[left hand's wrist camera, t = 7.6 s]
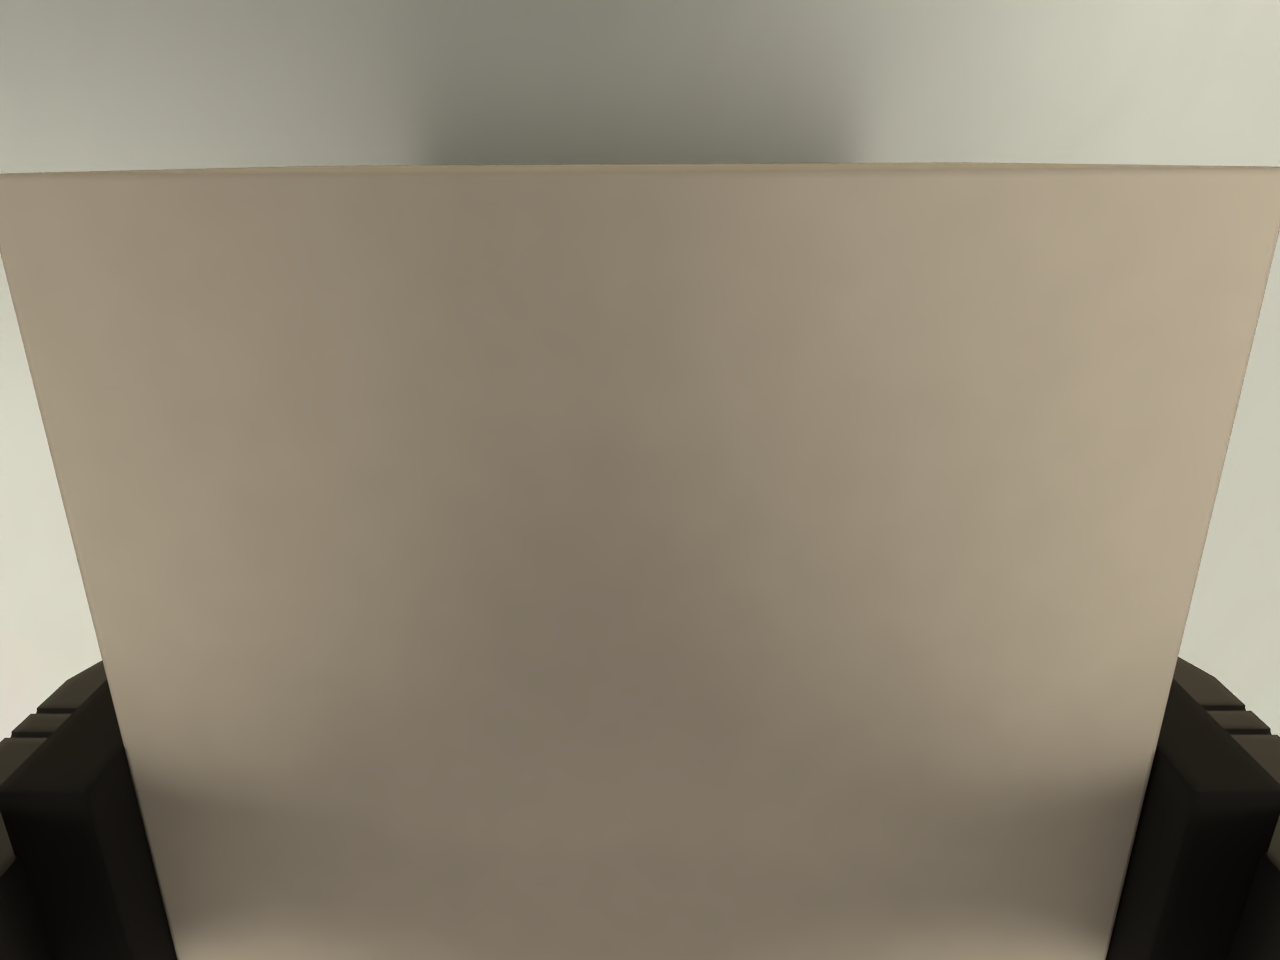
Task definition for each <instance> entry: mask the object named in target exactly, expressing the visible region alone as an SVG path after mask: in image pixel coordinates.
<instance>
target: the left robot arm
mask: <svg viewBox="0 0 1280 960" xmlns="http://www.w3.org/2000/svg"><path fill="white" fill-rule="evenodd" d="M0 960H177V956H176V952H175V948H174V944H173V940H172V936H171V932H170V928H169V924H168V920H167V916H166V912H165V908H164V904H163V900H162V896H161V892H160V888H159V884H158V880H157V876H156V872H155V868H154V864H153V860H152V856H151V852H150V848H149V844H148V840H147V836H146V832H145V828H144V824H143V820H142V816H141V812H140V808H139V804H138V800H137V796H136V792H135V788H134V784H133V780H132V776H131V772H130V768H129V764H128V760H127V756H126V752H125V748H124V744H123V740H122V736H121V732H120V728H119V724H118V720H117V716H116V712H115V708H114V704H113V700H112V696H111V692H110V688H109V684H108V680H107V676H106V672H105V668H104V664H103V660H102V661H100V662H99V663H97V664H95V665H93V666H91V667H90V668H88V669H86V670H84V671H83V672H81V673H79V674H77V675H75V676H74V677H72V678H70V679H68V680H67V681H66V682H65V683H64V684H62V685H61V686H60V687H59V688H58V689H57V690H56V691H55V692H54V693H53V694H52V695H51V696H50V697H49V698H47V699H46V700H45V701H44V702H43V703H42V704H41V705H40V706H39V707H38V708H37V713H36V714H30V715H29V716H28V717H27V718H26V719H25V720H24V721H23V722H22V723H21V724H19V725H18V726H17V727H16V728H15V729H14V730H13V731H12V735H11V738H4V739H3V740H2V741H1V742H0ZM1106 960H1280V737H1279V736H1278V735H1272V734H1271V732H1270V728H1269V727H1268V726H1267V725H1266V724H1265V723H1264V722H1263V721H1262V720H1260V719H1259V718H1258V717H1257V716H1256V715H1255V714H1254V713H1253V712H1252V711H1246V710H1245V705H1244V704H1243V703H1242V702H1241V701H1240V700H1239V699H1238V698H1237V697H1236V696H1234V695H1233V694H1232V693H1231V692H1230V691H1229V690H1228V689H1227V688H1226V687H1225V686H1224V685H1223V684H1221V683H1220V682H1219V681H1218V680H1217V679H1216V678H1215V677H1213V676H1212V675H1210V674H1208V673H1206V672H1204V671H1203V670H1201V669H1199V668H1197V667H1195V666H1194V665H1192V664H1190V663H1188V662H1186V661H1185V660H1183V659H1181V658H1179V657H1178V658H1177V662H1176V666H1175V671H1174V675H1173V679H1172V683H1171V687H1170V692H1169V696H1168V700H1167V704H1166V708H1165V713H1164V717H1163V721H1162V725H1161V729H1160V734H1159V738H1158V742H1157V746H1156V750H1155V755H1154V759H1153V763H1152V767H1151V771H1150V776H1149V780H1148V784H1147V788H1146V792H1145V797H1144V801H1143V805H1142V809H1141V813H1140V818H1139V822H1138V826H1137V830H1136V834H1135V839H1134V843H1133V847H1132V851H1131V855H1130V860H1129V864H1128V868H1127V872H1126V876H1125V881H1124V885H1123V889H1122V893H1121V897H1120V902H1119V906H1118V910H1117V914H1116V918H1115V923H1114V927H1113V931H1112V935H1111V939H1110V944H1109V948H1108V952H1107V956H1106Z"/></svg>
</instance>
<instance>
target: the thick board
mask: <svg viewBox="0 0 1280 960" xmlns="http://www.w3.org/2000/svg"><path fill="white" fill-rule="evenodd" d="M1279 230H1280V167H1258V166H1185V165H1111V164H1037V163H789V164H606V165H423V166H298V167H256V168H215V169H173V170H131V171H90V172H48V173H6V174H0V253H1V257H2V261H3V265H4V269H5V273H6V277H7V281H8V285H9V289H10V293H11V297H12V301H13V305H14V309H15V312H16V316H17V320H18V324H19V328H20V332H21V336H22V340H23V344H24V348H25V352H26V356H27V360H28V364H29V368H30V372H31V376H32V380H33V384H34V388H35V392H36V396H37V400H38V404H39V408H40V412H41V416H42V420H43V424H44V428H45V432H46V436H47V440H48V444H49V448H50V452H51V456H52V460H53V464H54V468H55V472H56V476H57V480H58V484H59V488H60V492H61V496H62V500H63V504H64V508H65V512H66V516H67V520H68V524H69V528H70V532H71V536H72V540H73V544H74V548H75V552H76V556H77V560H78V564H79V568H80V572H81V576H82V580H83V584H84V588H85V592H86V596H87V600H88V604H89V608H90V612H91V616H92V620H93V624H94V628H95V632H96V636H97V640H98V644H99V648H100V652H101V656H102V660H103V664H104V668H105V672H106V676H107V680H108V684H109V688H110V692H111V696H112V700H113V704H114V708H115V712H116V716H117V720H118V724H119V728H120V732H121V736H122V740H123V744H124V748H125V752H126V756H127V760H128V764H129V768H130V772H131V776H132V780H133V784H134V788H135V792H136V796H137V800H138V804H139V808H140V812H141V816H142V820H143V824H144V828H145V832H146V836H147V840H148V844H149V848H150V852H151V856H152V860H153V864H154V868H155V872H156V876H157V880H158V884H159V888H160V892H161V896H162V900H163V904H164V908H165V912H166V916H167V920H168V924H169V928H170V932H171V936H172V940H173V944H174V948H175V952H176V956H177V960H1106V956H1107V952H1108V948H1109V944H1110V939H1111V935H1112V931H1113V927H1114V923H1115V918H1116V914H1117V910H1118V906H1119V902H1120V897H1121V893H1122V889H1123V885H1124V881H1125V876H1126V872H1127V868H1128V864H1129V860H1130V855H1131V851H1132V847H1133V843H1134V839H1135V834H1136V830H1137V826H1138V822H1139V818H1140V813H1141V809H1142V805H1143V801H1144V797H1145V792H1146V788H1147V784H1148V780H1149V776H1150V771H1151V767H1152V763H1153V759H1154V755H1155V750H1156V746H1157V742H1158V738H1159V734H1160V729H1161V725H1162V721H1163V717H1164V713H1165V708H1166V704H1167V700H1168V696H1169V692H1170V687H1171V683H1172V679H1173V675H1174V671H1175V666H1176V662H1177V658H1178V654H1179V650H1180V645H1181V641H1182V637H1183V633H1184V629H1185V624H1186V620H1187V616H1188V612H1189V608H1190V603H1191V599H1192V595H1193V591H1194V587H1195V582H1196V578H1197V574H1198V570H1199V566H1200V561H1201V557H1202V553H1203V549H1204V545H1205V540H1206V536H1207V532H1208V528H1209V524H1210V519H1211V515H1212V511H1213V507H1214V503H1215V498H1216V494H1217V490H1218V486H1219V482H1220V477H1221V473H1222V469H1223V465H1224V461H1225V456H1226V452H1227V448H1228V444H1229V440H1230V435H1231V431H1232V427H1233V423H1234V419H1235V414H1236V410H1237V406H1238V402H1239V398H1240V393H1241V389H1242V385H1243V381H1244V377H1245V372H1246V368H1247V364H1248V360H1249V356H1250V351H1251V347H1252V343H1253V339H1254V335H1255V330H1256V326H1257V322H1258V318H1259V314H1260V310H1261V305H1262V301H1263V297H1264V293H1265V289H1266V284H1267V280H1268V276H1269V272H1270V268H1271V263H1272V259H1273V255H1274V251H1275V247H1276V242H1277V238H1278V234H1279Z"/></svg>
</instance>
